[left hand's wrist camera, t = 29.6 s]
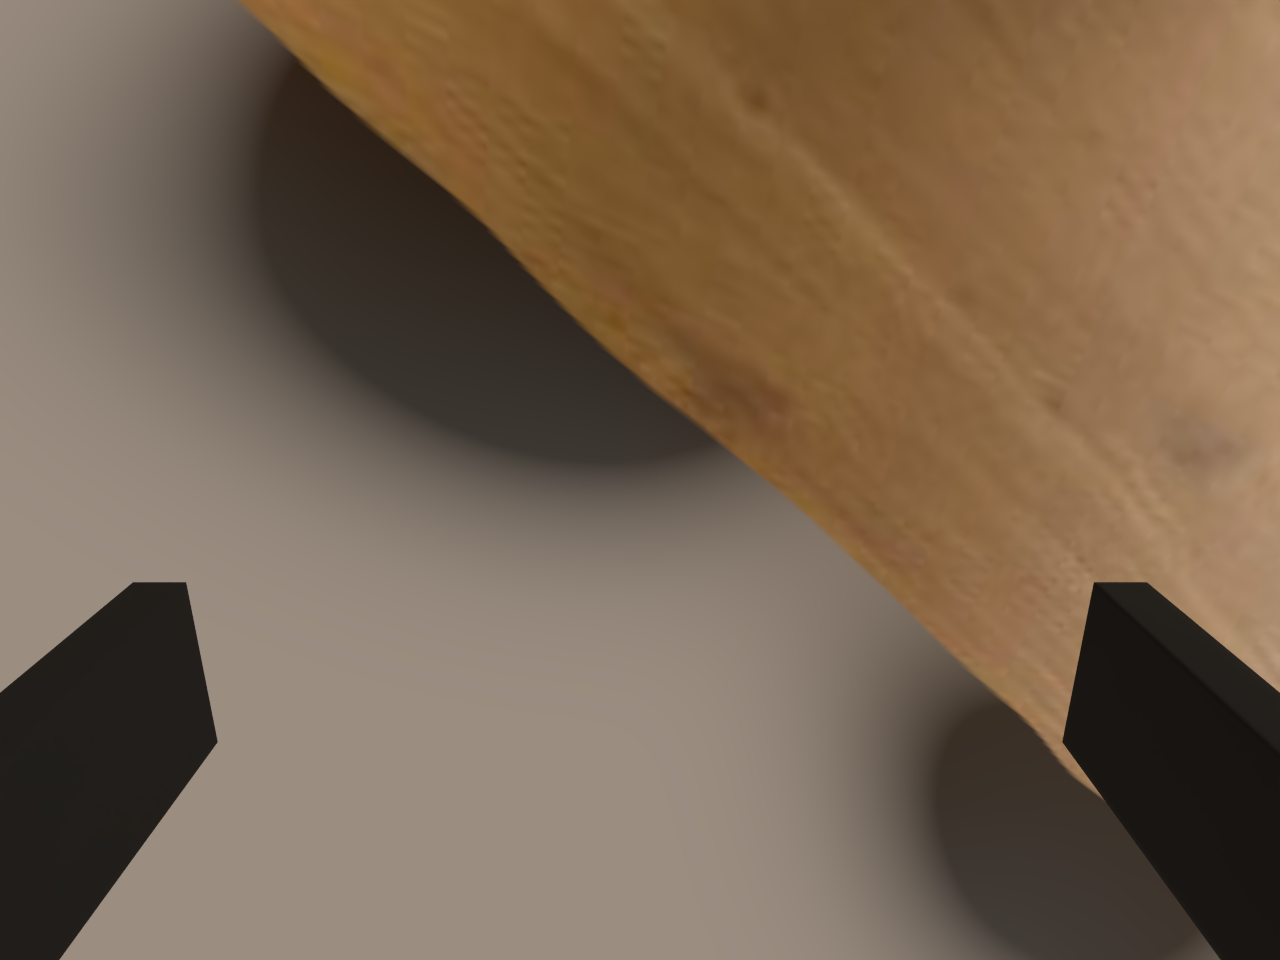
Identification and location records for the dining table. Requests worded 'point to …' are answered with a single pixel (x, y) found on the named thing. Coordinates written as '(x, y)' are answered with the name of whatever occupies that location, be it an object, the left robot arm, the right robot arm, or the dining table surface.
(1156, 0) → the dining table surface
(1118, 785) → the left robot arm
